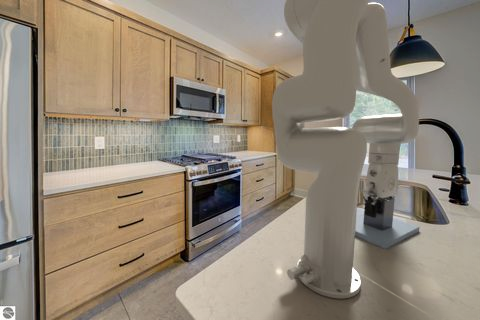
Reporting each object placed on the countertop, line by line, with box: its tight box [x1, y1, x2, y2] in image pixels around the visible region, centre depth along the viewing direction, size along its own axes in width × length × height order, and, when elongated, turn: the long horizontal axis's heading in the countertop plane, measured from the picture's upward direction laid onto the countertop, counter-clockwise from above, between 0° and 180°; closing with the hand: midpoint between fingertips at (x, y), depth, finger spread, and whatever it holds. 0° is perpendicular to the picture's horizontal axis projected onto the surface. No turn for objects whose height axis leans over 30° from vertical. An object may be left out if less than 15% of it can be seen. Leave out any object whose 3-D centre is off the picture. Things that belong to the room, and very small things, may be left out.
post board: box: [355, 214, 420, 250], centre depth 63 cm, size 20×14×6 cm
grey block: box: [363, 197, 395, 231], centre depth 63 cm, size 6×6×9 cm
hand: (378, 213), depth 63 cm, fingers open, 9 cm apart
